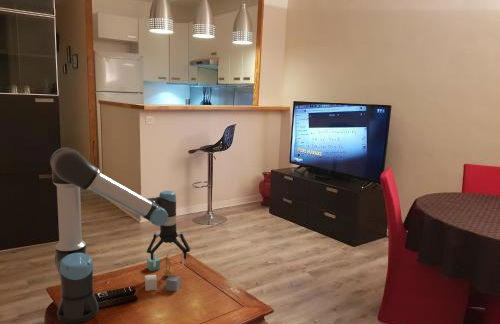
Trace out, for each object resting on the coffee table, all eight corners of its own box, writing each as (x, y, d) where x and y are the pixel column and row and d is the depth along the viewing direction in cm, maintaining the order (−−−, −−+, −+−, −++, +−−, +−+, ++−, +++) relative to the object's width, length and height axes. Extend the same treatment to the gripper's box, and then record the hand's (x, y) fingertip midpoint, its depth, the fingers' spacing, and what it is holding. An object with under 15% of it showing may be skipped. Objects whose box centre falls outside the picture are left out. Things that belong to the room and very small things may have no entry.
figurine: (177, 274, 196) (177, 251, 193) (175, 280, 190) (176, 256, 188) (160, 274, 195) (160, 251, 193) (158, 279, 189) (158, 256, 187)
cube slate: (165, 290, 180) (165, 280, 179) (169, 285, 185) (169, 275, 184) (176, 291, 179) (176, 281, 178) (179, 286, 184) (179, 276, 183)
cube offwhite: (145, 290, 179) (145, 280, 178) (145, 285, 183) (144, 275, 182) (156, 289, 180) (156, 279, 179) (156, 284, 185) (156, 274, 184)
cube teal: (150, 271, 198) (150, 262, 197) (147, 267, 202) (147, 258, 201) (160, 269, 200) (160, 260, 199) (156, 265, 205) (156, 256, 204)
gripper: (140, 226, 182) (141, 269, 186) (194, 225, 186) (194, 268, 189) (142, 221, 190) (143, 262, 194) (194, 220, 193) (194, 261, 197)
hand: (168, 265), depth 192 cm, fingers open, 13 cm apart
